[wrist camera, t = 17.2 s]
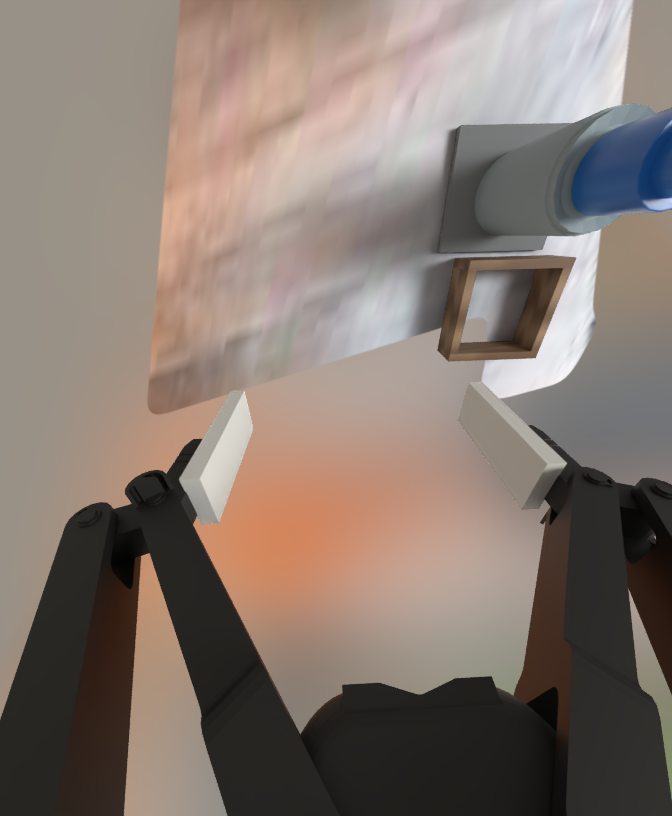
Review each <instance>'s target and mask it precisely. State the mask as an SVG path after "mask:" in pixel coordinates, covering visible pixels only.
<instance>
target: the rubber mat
mask: <svg viewBox="0 0 672 816" xmlns="http://www.w3.org/2000/svg"><path fill="white" fill-rule="evenodd" d="M571 124H573V123H556V124H503V125H461V126H459V127H458V128H457V134H456V140H455V146H454V153H453V159H452V165H451V172H450V178H449V184H448V190H447V197H446V203H445V209H444V215H443V222H442V228H441V234H440V241H439V247H438V252H439V253H445V252H481V251H516V250H542V249H543V246H544V244H545V241H546V238H547V236H505V235H493V234H489V233H487V232H486V231H484V230H483V229H482V228H481V226H480V225H479V223H478V222H477V219H476V214H475V196H476V193H477V190H478V187H479V184H480V182H481V180H482V178H483V177H484V175H485V173H486V171H487V170H488V169H489V168H490V167H491V165H492V164H493V163H494V162H495V161H496V160H497V159H498V158H500V157H502V156H503V155H505V154H506V153H508V152H510V151H512V150H514V149H517V148H519V147H521V146H523V145H526V144H528V143H530V142H532V141H535V140H537V139H539V138H541V137H544V136H546V135H548V134H550V133H553V132H555V131H557V130H559V129H562V128H564V127H566V126H569V125H571Z"/></svg>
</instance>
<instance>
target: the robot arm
mask: <svg viewBox="0 0 672 816" xmlns="http://www.w3.org/2000/svg"><path fill="white" fill-rule="evenodd" d="M458 421H459V422H460V424H461V425H462V426H463V428H464V429H465V431H466V432H467V434H468V435H469V436H470V438H471V439H472V441H473V442H474V443H475V445H476V446H477V448H478V449H479V451H480V452H481V453H482V455H483V456H484V458H485V459H486V460H487V462H488V463H489V465H490V466H491V467H492V469H493V470H494V472H495V473H496V474H497V476H498V477H499V478H500V480H501V481H502V483H503V484H504V486H505V487H506V488H507V490H508V491H509V493H510V494H511V495H512V497H513V498H514V500H515V501H516V502H517V504H518V505H519V507H520V508H521V509H538V508H539V507H540V506H541V504H542V502H543V501H544V499H545V500H546V501H547V503H548V504H549V505H550V506H551V507H550V508H549V510H548V511H547V513H546V514H545V516H544V517H543V519H542V520H541V522H540V523H541V524H543V523H544V522H545V521H546V522H545V530H544V536H543V543H542V549H541V555H540V563H539V569H538V576H537V582H536V588H535V595H534V602H533V608H532V615H531V622H530V628H529V635H528V641H527V648H526V655H525V661H524V667H523V671H522V675H521V677H520V679H519V681H518V684H517V686H516V689H515V692H514V696H513V695H511V694H510V693H508V692H505V691H503V690H501V689H499V688H496V687H495V684H494V681H493V679H492V677H491V676H490V677H471V678H455V679H453V680H451V681H449V682H447V683H445V684H443V685H441V686H439V687H437V688H435V689H433V690H431V691H429V692H427V693H425V694H421V695H418V694H414V693H411V692H408V691H404V690H401V689H398V688H395V687H391V686H388V685H385V684H382V683H367V684H349V685H342V688H343V689H342V690H343V695H342V694H340V695H338V696H336V697H334V698H332V699H331V700H329V701H328V702H327V703H325V704H324V705H323V706H322V707H321V708H320V709H319V710H318V711H317V712H316V713H315V714H314V715H313V717H312V718H311V719H310V720H309V722H308V723H307V725H306V726H305V728H304V730H303V731H302V733H301V735H300V733H299V731H298V729H297V728H296V726H295V723H294V721H293V719H292V718H291V716H290V714H289V712H288V710H287V708H286V706H285V704H284V702H283V700H282V698H281V696H280V694H279V692H278V691H277V689H276V687H275V685H274V683H273V681H272V679H271V677H270V675H269V673H268V671H267V669H266V667H265V665H264V663H263V661H262V659H261V657H260V655H259V653H258V652H257V649H256V647H255V646H254V644H253V641H252V639H251V638H250V636H249V634H248V632H247V630H246V628H245V626H244V624H243V622H242V620H241V618H240V616H239V614H238V612H237V610H236V608H235V606H234V604H233V602H232V600H231V598H230V597H229V594H228V592H227V591H226V589H225V587H224V585H223V583H222V581H221V579H220V577H219V575H218V573H217V571H216V569H215V567H214V565H213V563H212V561H211V559H210V557H209V555H208V553H207V551H206V549H205V548H204V545H203V543H202V542H201V540H200V538H199V536H198V534H197V532H196V530H195V528H194V526H193V523H194V521H195V519H196V517H198V519H199V521H200V523H201V524H210V523H219V522H220V519H221V516H222V514H223V511H224V508H225V505H226V502H227V500H228V497H229V494H230V491H231V489H232V486H233V483H234V480H235V478H236V475H237V472H238V469H239V466H240V464H241V461H242V458H243V456H244V453H245V450H246V447H247V445H248V442H249V439H250V436H251V433H252V431H253V425H252V421H251V417H250V412H249V408H248V405H247V400H246V395H245V391H244V390H243V391H231V392H230V393H229V395H228V397H227V399H226V400H225V402H224V404H223V405H222V407H221V409H220V411H219V412H218V414H217V416H216V417H215V419H214V421H213V423H212V424H211V426H210V427H209V429H208V431H207V433H206V434H205V436H204V438H203V439H193V440H192V441H190V442H189V443H188V444H187V445H186V446H184V448H183V449H182V451H181V452H180V454H179V456H178V457H177V459H176V460H175V463H173V465H172V466H171V468H170V469H169V471H168V472H167V474H166V473H164V472H163V471H160V470H153V471H148V472H146V473H143V474H141V475H139V476H137V477H135V478H134V479H133V480H132V481H131V482H130V483H129V484H128V485H127V487H126V489H125V495H126V496H127V497H128V499H129V500H130V502H131V503H132V504H130V505H127V506H123V507H119V508H116V509H113V508H112V507H111V505H109V504H108V503H102V502H100V503H95V504H92V505H89V506H87V507H85V508H83V509H82V510H80V511H79V512H77V513H75V514H74V515H73V516H72V517H71V518H70V519H69V521H68V523H67V524H66V526H65V528H64V531H63V535H62V537H61V540H60V543H59V546H58V549H57V552H56V555H55V558H54V562H53V564H52V567H51V570H50V573H49V576H48V580H47V582H46V585H45V588H44V591H43V594H42V597H41V600H40V603H39V606H38V609H37V612H36V615H35V618H34V621H33V624H32V627H31V630H30V633H29V636H28V639H27V642H26V645H25V648H24V651H23V654H22V657H21V660H20V663H19V666H18V669H17V672H16V675H15V677H14V680H13V683H12V686H11V690H10V692H9V695H8V698H7V701H6V704H5V707H4V710H3V713H2V716H1V720H0V816H124V802H125V787H126V773H127V758H128V742H129V728H130V713H131V698H132V697H131V696H132V683H133V682H132V681H133V668H134V652H135V638H136V624H137V609H138V594H139V578H140V563H141V556H142V555H145V554H148V553H150V555H151V559H152V561H153V565H154V568H155V571H156V574H157V577H158V580H159V583H160V586H161V589H162V592H163V595H164V598H165V601H166V604H167V608H168V611H169V614H170V617H171V620H172V623H173V626H174V629H175V632H176V635H177V638H178V641H179V644H180V647H181V650H182V654H183V657H184V659H185V663H186V666H187V669H188V672H189V675H190V678H191V681H192V684H193V687H194V690H195V693H196V696H197V700H198V703H199V706H200V709H201V715H202V718H201V728H202V734H203V737H204V741H205V745H206V748H207V751H208V755H209V757H210V761H211V764H212V767H213V771H214V774H215V777H216V780H217V783H218V787H219V790H220V793H221V796H222V799H223V803H224V806H225V809H226V812H227V815H228V816H672V800H671V792H670V785H669V778H668V771H667V764H666V757H665V750H664V743H663V736H662V729H661V721H660V716H659V712H658V708H657V705H656V703H655V702H654V700H653V698H652V697H651V696H650V695H649V694H647V693H646V692H645V691H643V690H642V689H641V687H640V685H639V683H638V678H637V668H636V660H635V650H634V640H633V631H632V621H631V611H630V601H629V592H628V588H629V591H630V593H631V596H632V598H633V601H634V603H635V605H636V608H637V610H638V613H639V615H640V618H641V620H642V623H643V625H644V628H645V630H646V633H647V635H648V637H649V640H650V642H651V645H652V647H653V650H654V652H655V655H656V657H657V660H658V662H659V664H660V667H661V669H662V672H663V674H664V677H665V679H666V682H667V684H668V687H669V689H670V692H671V694H672V485H671V484H668V483H667V482H664V481H660V480H657V479H653V478H642V479H641V480H640V481H639V482H638V483H637V484H636V486H632V485H626V484H620V483H616V482H615V481H614V480H613V479H612V478H611V477H609V476H607V475H606V474H604V473H603V472H600V471H598V470H596V469H592V468H588V467H581V466H580V465H579V464H578V463H577V462H576V461H575V460H574V459H572V458H571V457H570V456H569V455H568V454H567V453H566V452H565V451H564V450H563V449H562V448H560V447H559V446H557V444H556V443H555V442H554V441H553V440H551V439H550V438H549V437H548V436H547V435H546V434H545V433H544V432H543V431H541V430H539V429H537V428H536V427H534V426H532V425H526V424H525V423H524V422H523V421H522V420H521V419H520V418H519V417H518V416H517V415H516V414H515V413H513V411H512V410H511V409H510V408H509V407H507V406H506V405H505V404H504V403H503V402H502V401H501V400H500V399H499V398H498V397H497V396H496V395H495V394H494V393H493V392H492V391H491V390H490V389H489V388H488V387H486V386H485V385H484V384H483V383H482V382H469V384H468V387H467V391H466V395H465V398H464V401H463V405H462V408H461V412H460V416H459V419H458ZM654 536H656V539H655V538H654Z"/></svg>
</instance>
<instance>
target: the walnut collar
mask: <svg viewBox="0 0 672 816" xmlns="http://www.w3.org/2000/svg"><path fill="white" fill-rule="evenodd" d="M575 260H576V258H575V257H564V256H553V255H540V256H505V257H470V258H455V262H454V267H453V272H452V277H451V283H450V288H449V293H448V298H447V303H446V309H445V314H444V319H443V324H442V330H441V335H440V340H439V346H438V351H439V352H440V353H441V354H442V355H443V356H444V357H445V358H446V359H447V360H448V361H471V360H498V359H526V358H536V356H537V353H538V351H539V348H540V346H541V343H542V341H543V338H544V336H545V334H546V331H547V329H548V326H549V324H550V321H551V319H552V316H553V314H554V311H555V309H556V307H557V304H558V302H559V299H560V297H561V294H562V292H563V289H564V287H565V284H566V282H567V280H568V277H569V275H570V272H571V270H572V267H573V265H574V262H575ZM509 269H537V272H536V275H535V278H534V281H533V284H532V287H531V289H530V292H529V295H528V298H527V301H526V304H525V307H524V310H523V313H522V315H521V318H520V321H519V324H518V327H517V330H516V333H515V336H514V339H513V341H501V342H473V343H460V341H461V337H462V332H463V328H464V324H465V320H466V316H467V311H468V307H469V303H470V299H471V294H472V290H473V286H474V282H475V278H476V273H477V270H509Z"/></svg>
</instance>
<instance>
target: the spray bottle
mask: <svg viewBox="0 0 672 816" xmlns="http://www.w3.org/2000/svg"><path fill="white" fill-rule="evenodd" d="M671 209H672V108H670V109H667V110H664V111H661V112H659V113H656V114H655V113H654V111H653V110H652V109H651V108H649V107H648V106H643V105H639V104H630V105H626V104H623V105H619V106H615V107H611V108H607V109H605V110H602V111H600V112H598V113H596V114H593V115H591V116H589V117H587V118H584V119H582V120H580V121H578V122H575V123H573V124H571V125H569V126H566V127H564V128H562V129H559V130H557V131H555V132H553V133H550V134H548V135H546V136H544V137H541V138H539V139H537V140H535V141H532V142H530V143H528V144H526V145H523V146H521V147H519V148H517V149H514V150H512V151H510V152H508V153H506V154H505V155H503V156H502V157H500V158H498V159H497V160H496V161H495V162H494V163H493V164H492V165H491V167H490V168H489V169H488V170H487V171H486V173H485V175H484V177H483V178H482V180H481V182H480V184H479V187H478V190H477V193H476V196H475V214H476V219H477V222H478V223H479V225H480V226H481V228H482V229H483V230H484V231H486V232H487V233H489V234H493V235H505V236H578V235H582V234H587V233H590V232H593V231H597V230H599V229H601V228H603V227H605V226H607V225H609V224H611V223H613V222H614V221H615V220H616V219H618V218H619V217H620V216H621V215H622V214H637V213H651V212H652V213H653V212H662V211H666V210H671Z"/></svg>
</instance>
